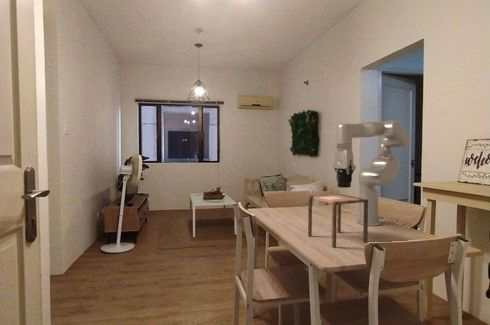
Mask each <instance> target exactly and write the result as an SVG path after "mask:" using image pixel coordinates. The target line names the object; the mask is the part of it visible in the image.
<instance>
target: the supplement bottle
mask: <svg viewBox="0 0 490 325" xmlns="http://www.w3.org/2000/svg"><path fill="white" fill-rule="evenodd" d="M349 171H350V170H349ZM346 174H347V171H346V169H339V170H338V171H337V173H336V182H337V188H343V189H345V188H346V189H347V188H351V187H352V182H346Z"/></svg>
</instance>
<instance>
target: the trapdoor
mask: <svg viewBox="0 0 490 325" xmlns="http://www.w3.org/2000/svg"><path fill="white" fill-rule="evenodd" d="M329 195H330V196H320V195H314V196H315V197H313V199H314V200H316V201H322V202H324V203H328V204H329V203H330V204H332V202H337V201H349V200H361V199H356V198H351V197H346V196H347V195H346V196H341V195H342V194H341V195H334V194H329ZM313 199H312V200H313Z"/></svg>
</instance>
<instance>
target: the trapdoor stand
mask: <svg viewBox="0 0 490 325" xmlns="http://www.w3.org/2000/svg"><path fill="white" fill-rule="evenodd" d="M330 195H331V194H323V195H319V196H330ZM333 195H341V196H346V197H351V198H356V199H361V200H349V201H337V202H332V203H331V204H332V211H331V212H332V218H331V219H332V222H331V223H332V224H331V225H332V227H331V248H333V249H334V248H337V233H338V234H340V233H341V231H342V230H341V229H342V227H341V225H342V223H341V222H342V205H348V204H360V203H362V202H364V225H363V234H362V238H363V239H362V241H363V243H364V244H368V232H369V230H368V229H369V228H368V227H369V226H368V200H367V199H362V198H360V197H357V196H350V195H346V194H341V193H340V194H339V193H337V194H333ZM315 196H316V195H309V196H308V203H307V204H308V208H307V210H308V212H307V215H308V217H307V218H308V220H307V221H308V222H307V224H308V225H307V237H309V238H312V236H313V234H312V233H313V232H312V231H313V228H312V227H313V226H312V225H313V224H312V223H313V221H312V220H313V197H315Z"/></svg>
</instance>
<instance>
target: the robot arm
mask: <svg viewBox="0 0 490 325" xmlns="http://www.w3.org/2000/svg"><path fill="white" fill-rule="evenodd" d="M373 137H379V140H378V143H379V145H378V146H379V152H378V153H377V155H376V156H374V158H373V159H372V160H371V163H370V164H369V167H366V168H365V167H364V168H362V169H360V171H359V172H358V176H357V177H358V183H359V198H362V199H367V200H368V227H371V226H372V227H375V226H376V227H377V226H381V224H382V223H381V221H380V220H383V219H385V218H384V216H383V215H379V214H378V212H379V192H378V189H377V187H388V186H389V185H390V184H391V183H392V182H393V180H394V179H395V178H396V176H397V175H398V174H399V173H400V169H401V162H400V160H399V159H398V158H397V157H395V156H394V153H393V151H392V150H391V148H392V149H396V148H400V149H401V148H406V147H408V146H409V144H410V142H411V141H410V136H409V134H408V132H407V131H406V130H405V128H404V126H403V125H402V123H400V122H399V121H398V120H396V119H395V120H394V119H390V120H379V121H378V120H376V121H366V122H365V121H364V122H360V123H359V122H358V123H339V124H337V125H336V150H335V152H334V153H335V154H334V162H333V163H334V164H333V165H332V166H333V168H334V171H335V173H336V174H337V171H338V170H339V169H346V171H347V174H346V182H351V183H352V182H353V174H354V172H355V170H356V168H357V166H356V165H355V164H354V163H355V162H354V153H353V147H352V146H353V144H352V142H353V139H355V138H356V139H358V138H373ZM349 170H350V171H349ZM376 186H377V187H376ZM356 223H357V224H358V225H363V226H364V202H362V203H359V219H357V220H356Z"/></svg>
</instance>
